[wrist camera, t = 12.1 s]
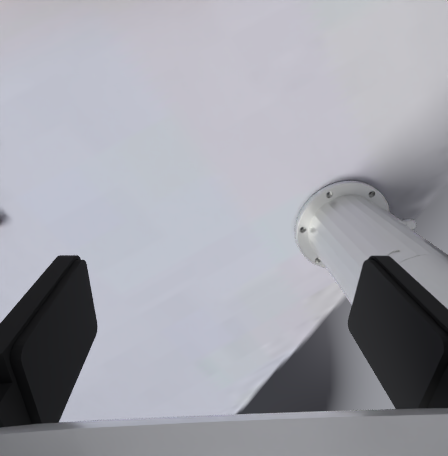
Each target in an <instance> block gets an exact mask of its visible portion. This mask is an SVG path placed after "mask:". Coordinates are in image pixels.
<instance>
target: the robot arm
mask: <svg viewBox="0 0 448 456" xmlns="http://www.w3.org/2000/svg"><path fill="white" fill-rule="evenodd" d="M327 193H328V194H327ZM301 227H302V228H301ZM415 227H416V222H415V220H413V219H402V220H400V219H399V218H397V217H396V216H394V215H393V214H391V213H390V209H389V206H388V203H387V201H386V199H385V198H384V196H383V195H382V194H381V193H380V192H379V191H378V190H377V189H375V188H374V187H372V186H370V185H368V184H366V183H364V182H359V181H342V182H336V183H334V184H331V185H328V186H326V187H324V188H323V189H321V190H319V191H318V192H317V193H315V194H314V195H313V196H312V197H311V198H310V199H309V200H308V201H307V202H306V203H305V204H304V206H303V208H302V209H301V211H300V212H299V215H298V218H297V220H296V225H295V239H296V243H297V245H298V247H299V249H300V251H301V253H302V254H303V255H304V257H305V258H306V259H307V260H308V261H310V262H311V263H313V264H315V265H317V266H320V267H323V268H327V270H328V271H329V273H330V274H331V276H332V277H333V278H334V280H335V281H336V283H337V284H338V286H339V287H340V289H341V290H342V291H343V293H344V294H345V296H346V297H347V299H348V300H349V301H350V303H351V304H352V307H351V311H350V315H349V319H348V327H349V331H350V332H351V334H352V336H353V337H354V339H355V341H356V343H357V344H358V346H359V348H360V349H361V351H362V353H363V354H364V356H365V358H366V359H367V361H368V363H369V364H370V366H371V368H372V369H373V371H374V373H375V375H376V376H377V378H378V380H379V381H380V383H381V385H382V386H383V388H384V390H385V391H386V393H387V395H388V396H389V398H390V400H391V401H392V403H393V405H394V406H395V408H396V409H386V410H355V411H322V412H293V413H265V414H237V415H210V416H186V417H162V418H138V419H115V420H95V421H78V422H61V423H59V420H60V418H61V416H62V413H63V411H64V409H65V406H66V404H67V402H68V399H69V397H70V395H71V392H72V390H73V388H74V385H75V383H76V381H77V378H78V376H79V374H80V371H81V369H82V367H83V364H84V362H85V360H86V357H87V355H88V353H89V350H90V348H91V346H92V343H93V341H94V339H95V336H96V333H97V320H96V314H95V309H94V303H93V298H92V292H91V286H90V281H89V275H88V270H87V264H86V261H85V260H81V259H80V257H79V256H58V257H57V258H56V259H55V260H54V261H53V262H52V263H51V265H50V266H49V267H48V268H47V269H46V271H45V272H44V273H43V274H42V275H41V276H40V278H39V279H38V280H37V281H36V282H35V283H34V285H33V286H32V287H31V288H30V289H29V290H28V292H27V293H26V294H25V295H24V296H23V297H22V299H21V300H20V301H19V302H18V303H17V305H16V306H15V307H14V308H13V309H12V310H11V312H10V313H9V314H8V315H7V316H6V317H5V319H4V320H3V321H2V322H1V323H0V456H448V255H447V254H446V253H444V252H443V251H442V250H440V249H439V248H437V247H436V246H434V245H433V244H431V243H430V242H429V241H427V240H426V239H424V238H423V237H421V236H420V235H418V234H417V233H415V232H414V231H413V229H415Z"/></svg>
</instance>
